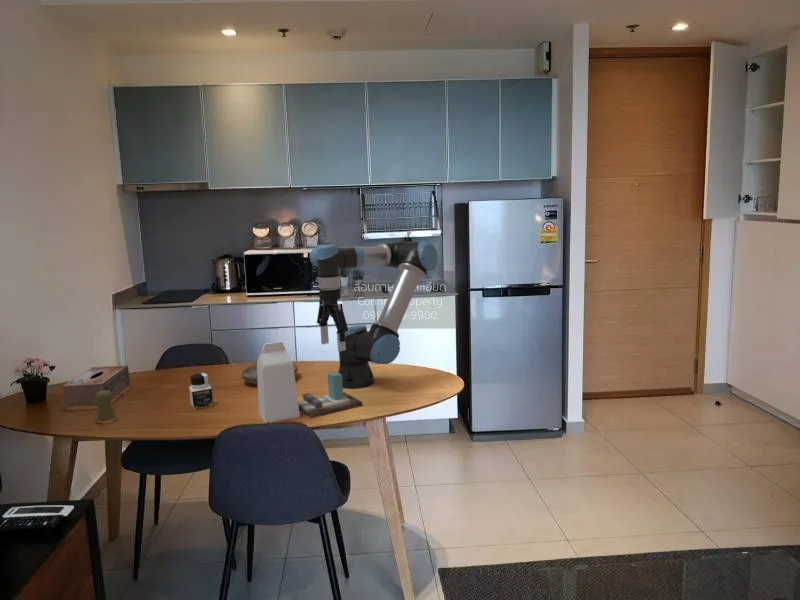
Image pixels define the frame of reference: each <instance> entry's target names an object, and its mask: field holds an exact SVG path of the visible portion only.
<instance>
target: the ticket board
mask: <svg viewBox="0 0 800 600" xmlns="http://www.w3.org/2000/svg"><path fill="white" fill-rule="evenodd" d="M343 396H344V397H346V398H348V399H350V402H349V403H345V404H341V405H337V406H334V403H332V402H331V401H329V400H327V399H326V398H324V397H323V396H318V397H315V396H314V395H312V394H310V393H303V394H302V397H303V398H302V399H303V400H300V401H298V406H299V412H301V411H302V412H301V413H302V414H304V413H305V414H304V415H306V416H307V417H308V416H309V417H308V418H310V419H312V418H311V417H314V418H316V417H315V416H318V417H320V416H319V415H322V416H325V415H324V414H326V415H328V413H330V414H333V413H332V412H334V413H337V411H338V412H342V411H345V410H349V409H353V408H357V407H362V406H363V402H362V401H361V400H360V399H358V398H356V397H354V396H352V395H350V394H349V393H347V392H345V391H343Z"/></svg>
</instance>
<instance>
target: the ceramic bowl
mask: <svg viewBox="0 0 800 600" xmlns="http://www.w3.org/2000/svg"><path fill="white" fill-rule="evenodd" d="M292 364H293V368H294V376H295V375H296V374H297V372H298V370H299V367H298V365H297V364H294V363H292ZM240 374H241V377H242V379H244V380H245V382H248V383H250V384H254V385H258V380H257V364H256V365H252V366H249V367H247V368H244V369H242V371H241V373H240Z"/></svg>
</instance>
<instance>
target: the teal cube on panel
mask: <svg viewBox="0 0 800 600" xmlns="http://www.w3.org/2000/svg"><path fill="white" fill-rule="evenodd" d="M327 382H328V383H327V385H328V394H327V395H322V397H324V398H326V399H327V400H329V401H331V402H332V403H334V406H337V405H341V404H345V403H349V402H350V399H348V398H346V397H344V396H343V392H344V388H343V385H342V374H340V373H338V371H334V372H333V371H332V372H330V373H327Z"/></svg>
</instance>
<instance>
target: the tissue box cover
mask: <svg viewBox="0 0 800 600" xmlns="http://www.w3.org/2000/svg"><path fill="white" fill-rule="evenodd" d="M128 386H131V380H130V370H129V366H128V364H127V365H126V364H125V365H111V366H95V367H93V366H92V367H91V368H89V369H88V370H86V371H84V372H83V373H81V374H80V375H77V376H76V377H75V378H72V379H71V380H70V381H68V382H67V383H66V384H64V385H62V392H63V393H62V394H63V399H64V405H65V406H64V407H65V408H66V407H73V406H98V401H97V400H96V398H95V395H96V393H97V392H99V391H102V390H109V391H110V392H111V394H112V397H111V400H112V399H114V398H115V397H116V396H117V395H119V394H120V393H121V392H122V391H123V390H125V389H126V388H127V387H128Z"/></svg>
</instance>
